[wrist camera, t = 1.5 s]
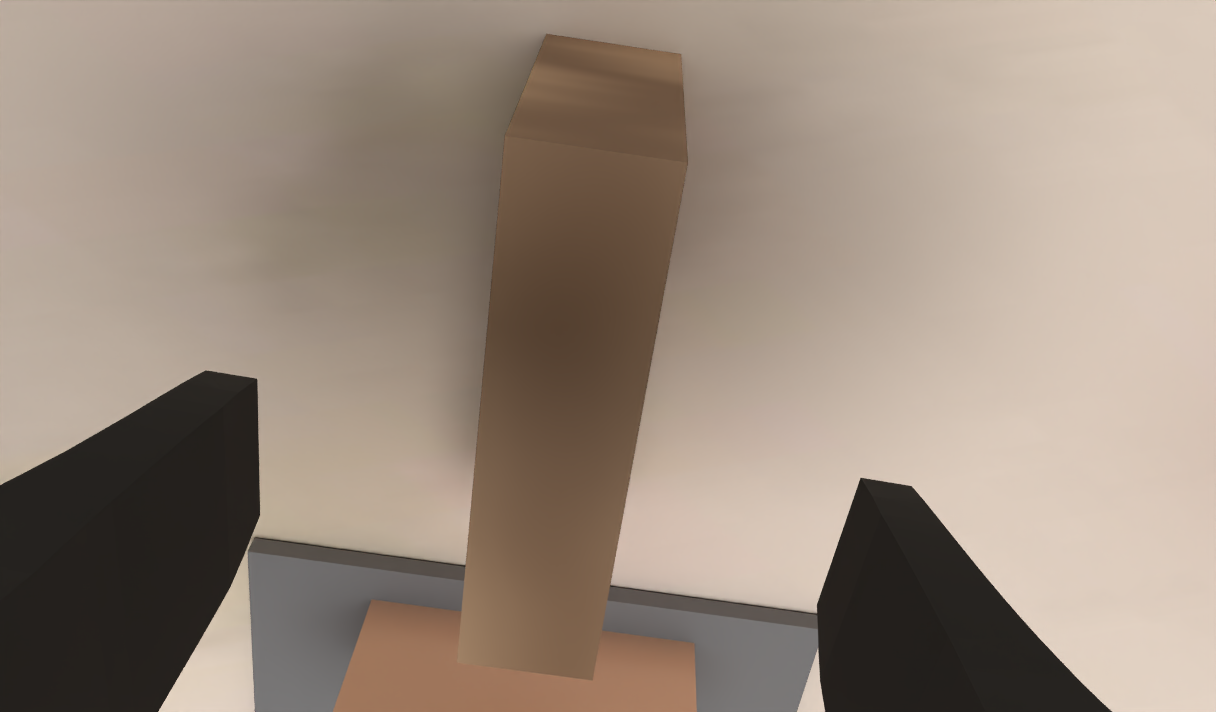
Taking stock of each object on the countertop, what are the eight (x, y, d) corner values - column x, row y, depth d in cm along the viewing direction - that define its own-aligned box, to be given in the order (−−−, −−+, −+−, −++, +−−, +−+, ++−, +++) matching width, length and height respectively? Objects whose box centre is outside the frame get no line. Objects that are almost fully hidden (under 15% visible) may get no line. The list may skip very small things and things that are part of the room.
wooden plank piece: (500, 468, 24) (457, 662, 19) (547, 32, 19) (504, 135, 14) (607, 482, 24) (592, 679, 19) (680, 52, 19) (687, 162, 14)
